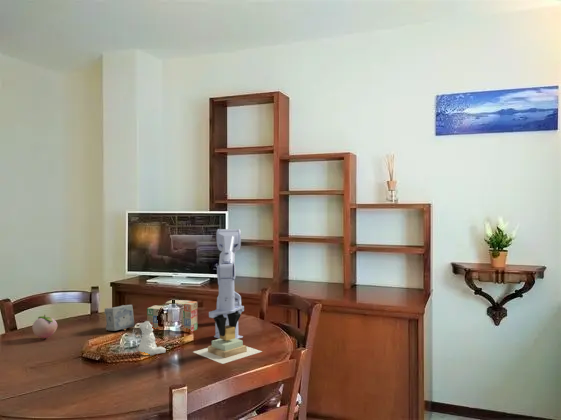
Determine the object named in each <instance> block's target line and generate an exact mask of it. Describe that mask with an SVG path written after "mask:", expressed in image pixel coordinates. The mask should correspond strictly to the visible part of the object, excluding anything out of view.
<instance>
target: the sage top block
mask: <svg viewBox="0 0 561 420" xmlns="http://www.w3.org/2000/svg"><path fill="white" fill-rule="evenodd" d="M211 345H212V347H215V348H218V349H221V350H223V351H228V350H231V349H235V348H238V347H241V346H243V345H244V342H243V340H242V339H240V338H239V339H236V338H234V339H231V340H227V341H226V340H223V339H219V338H217V339H214V340H211Z"/></svg>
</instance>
